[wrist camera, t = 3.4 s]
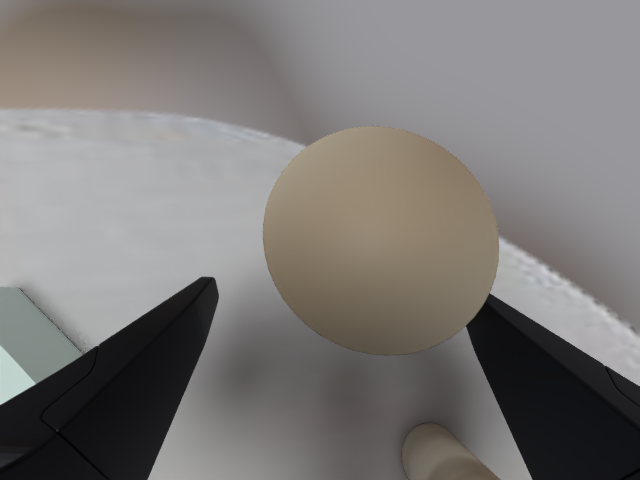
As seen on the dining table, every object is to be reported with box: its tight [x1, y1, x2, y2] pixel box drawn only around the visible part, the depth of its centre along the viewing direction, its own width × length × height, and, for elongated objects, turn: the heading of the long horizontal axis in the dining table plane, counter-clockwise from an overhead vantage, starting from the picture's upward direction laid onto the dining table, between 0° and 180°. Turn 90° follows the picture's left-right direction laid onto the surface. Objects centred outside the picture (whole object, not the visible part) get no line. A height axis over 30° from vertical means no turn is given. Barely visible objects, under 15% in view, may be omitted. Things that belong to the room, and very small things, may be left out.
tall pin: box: [263, 126, 499, 355], centre depth 11 cm, size 4×4×14 cm
